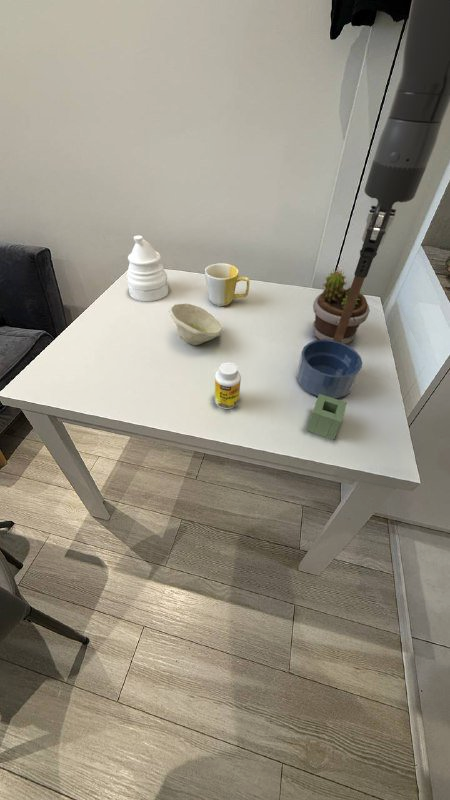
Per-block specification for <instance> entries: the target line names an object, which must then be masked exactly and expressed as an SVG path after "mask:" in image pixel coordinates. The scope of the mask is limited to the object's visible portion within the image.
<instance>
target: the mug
mask: <svg viewBox="0 0 450 800" xmlns="http://www.w3.org/2000/svg"><path fill="white" fill-rule="evenodd" d="M239 273H240V271H239V269H238V268H237V267H236V266H234V265H233V264H229V263H221V262H220V263H213V264H210V265H208V266H207V267H205V269H204V276H205V281H206V287H207V293H208V299H209V301H210V302H211V303H212V304H213V305H215V306H218V307H226V306H228V305H229V304H230V303H232V301H233V300H234V299H239V298H241V299H242V298H246V297H248V295H249V291H250V278H249V277H248V276H239ZM243 281H244V282H246V290H245V293H235V292H236V287H237V283H239V282H243Z"/></svg>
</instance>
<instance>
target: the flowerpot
mask: <svg viewBox="0 0 450 800" xmlns="http://www.w3.org/2000/svg"><path fill="white" fill-rule="evenodd" d="M332 270H333V271H331V272H329V273H328V275H325V277H323V278H324V280H326V281H324V282H323V284H322V288H323V291H321V293H320V294H318V295H317V296H316V297H315V299H314V301H313V305H312V311H313V312H314V319H315V320H314V321H313V324H312V331H313V332H312V333H313V335H314V337H315V338H316V340H333V339H334V336H335V333H336V330H337V327H338V324H339V321H340V318H341V315H342V312H343V309H344V306H345V303H346V300H347V297H348V294H349V291H350V288H351V285H352V284H351V285H349V286H348V287H347V286H346V285H348V282H347V280H345V279H346V278H347V275H345V272H343V271H342V269H340V270H339V268H338V266H336V269H332ZM345 287H347V289H346V288H345ZM370 312H371V309H370V306H369V304H368V301H367V298H366V297H365V295H363V294H362V293H361V291H360V292H359V295H358V298H357V301H356V303H355V306H354V309H353V312H352V315H351V317H350V320H349V323H348V326H347V328H346V331H345V334H344V337H343V340H342V342H341V343H343V344H346V345H348V343H350V342H352V341H353V339H354V338H355V336H356V335H357V330H358V328H359V327H360V325H362V324H364V322H366V320H367V319H368V317H369V314H370Z"/></svg>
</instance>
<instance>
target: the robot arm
mask: <svg viewBox="0 0 450 800" xmlns="http://www.w3.org/2000/svg"><path fill="white" fill-rule="evenodd" d="M408 14H409V15H408V21H407V27H406V33H405V41H404V48H403V54H402V55H403V57H402V66H401V74H400V77H399V80H398V83H397V86H396V89H395V91H394V95H393V99H392V102H391V105H390V109H389V112H388V116H387V117H386V122H385V124H384V127H383V128H382V131H381V134H380V137H379V140H378V142H377V146H376V149H375V152H374V156H373V159H372V163H371V165H370V170H369V173H368V176H367V179H366V183H365V186H364V193H365V195H366V196H368V197H369V198H371V199H376V200H377V204H376V205H371V206H370V209H369V211H368V214H367V217H366V226H365V228H364V231H363V234H362V237H361V241H362V242H363V243H362V247H361V249H360V250H359V259H358V261H357V265H356V268H355V270H354V276H357V277H361V278H364V279H365V278H367V277H368V274H369V271H370V268H371V266H372V263H373V260H374V259H375V258H376V257H377V255H378V250H379V247H380V245H383V243H384V242H385V239H386V236H387V233H388V232H389V228H390V227H391V226H392V225H393V222H394V219H395V217H396V212H397V209H396V208H393V206H394V205H395V204H396V203H407V202H410V201H412V200H413V199H414V198H415V196H416V194H417V191H418V190H419V188H420V184H421V181H422V179H423V177H424V174H425V171H426V169H427V167H428V164H429V162H430V159H431V156H432V155H433V152H434V149H435V147H436V143H437V141H438V137H439V133H440V130H441V127H442V125H443V121H444V119H445V116H446V113H447V111H448V108H449V106H450V0H411V4H410V9H409V13H408ZM366 247H369V248H373V249H374V250H372V249H367V248H366Z"/></svg>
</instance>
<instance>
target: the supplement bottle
mask: <svg viewBox="0 0 450 800" xmlns="http://www.w3.org/2000/svg"><path fill="white" fill-rule="evenodd" d="M241 381H242V375H241V373H240V371H239V367H238V365H237V364H235V363H234V362H232V361H231V362H230V361H227V362H223V363H221V364H220V365H219V366H218V370H217V371H216V372H215V375H214V402H215V404H216V405H217V406H218V407H219V408H221V409H224V410H228V409H229V410H230V409H233V408H235V407H236V406H237V405H238V404H239V402H240V393H241V391H240V390H241Z"/></svg>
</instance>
